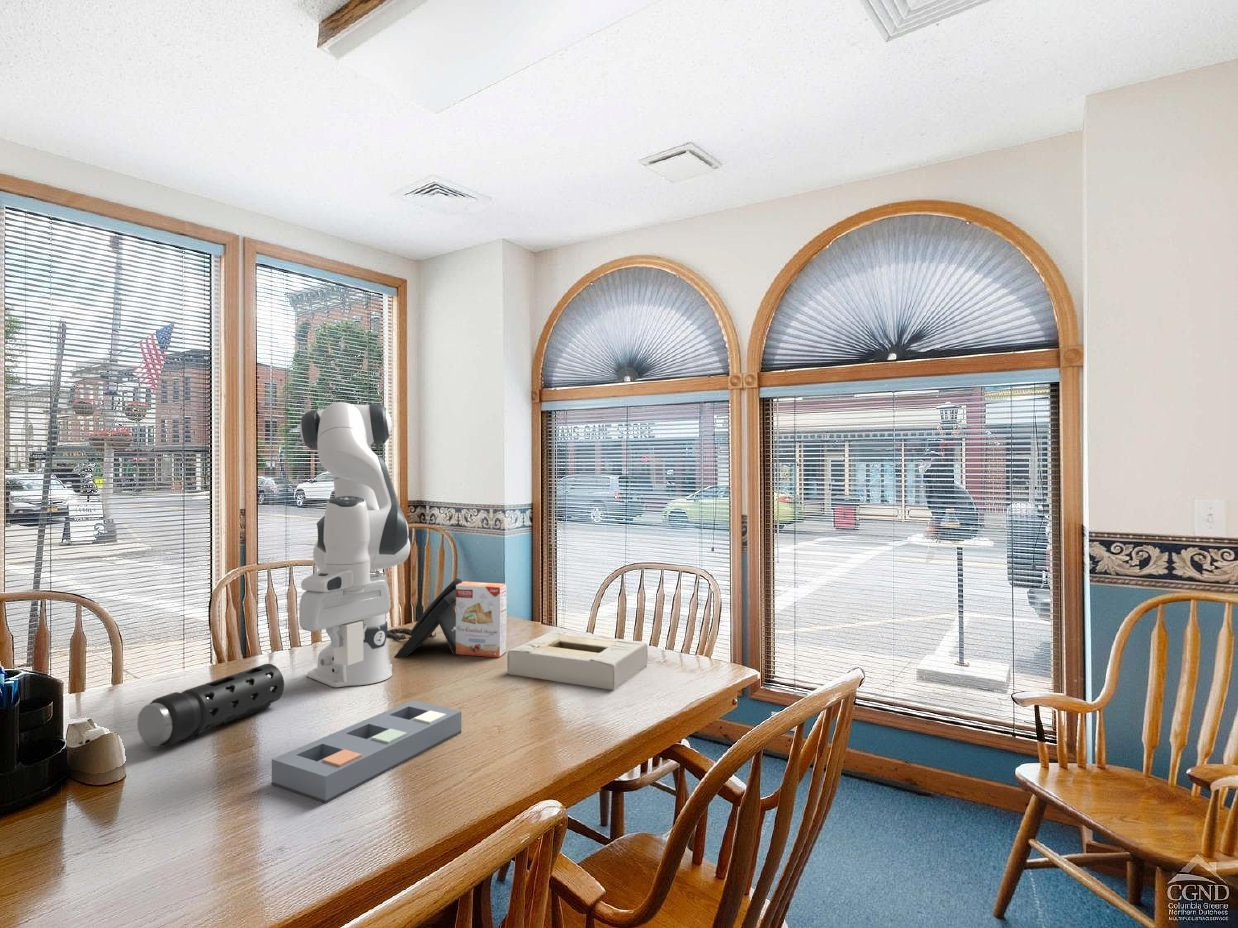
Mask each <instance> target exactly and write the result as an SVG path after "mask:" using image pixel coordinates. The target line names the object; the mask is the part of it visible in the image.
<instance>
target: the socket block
mask: <svg viewBox="0 0 1238 928" xmlns="http://www.w3.org/2000/svg"><path fill="white" fill-rule="evenodd" d="M461 733H462V710H457V709H453V708H449V707H445V706H440V705H436V704H431V703H427V702H422V701H418V700H413V699H411V700H409V701H407V702H404V703H402V704H400V705H397V706H395V707H393V708H390V709H387V710H385V711H383V712H381V713H379V714H376V715H374V716H371V717H369V718H366V719H364V720H363V721H360V722H357V723H354V724H353V725H350V726H347V727H345V728H343V729H340V730H338V731H336V732H333V733H331V734H329V735H326V736H324V737H321V738H319V739H317V740H314V741H312V742H310V743H308V744H304V745H302V746H299V747H298V748H295V749H293V750H291V751H288V752H286V753H283V754H281V755H279V756H276V757H273V758H272V759H271V785H272V786H275V787H277V788H280V789H283V790H287V791H289V792H292V793H295V794H298V795H301V796H304V797H306V798H309V799H312V800H316V801H318V802H320V803H324V804H327V803H329V802H331V801H333V800H335V799H337V798H339V797H340V796H342V795H344V794H346V793H349V792H351V791H352V790H354V789H356V788H358V787H360V786H362V785H364V784H366V783H368V782H370V781H371V780H373V779H375V778H377V777H379V776H381V775H383V774H385V773H386V772H389V771H390V770H392V769H395V768H396V767H398V766H400V765H402V764H404V763H406V762H407V761H411V759H413V758H416V757H418V756H419V755H421V754H423V753H425V752H426V751H428V750H429V751H430V749H433V748H434V747H436V746H438V745H440V744H442V743H444V742H446V741H448V740H450V739H451V738H453V737H456V736H457V735H460V734H461Z"/></svg>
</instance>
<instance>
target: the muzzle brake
mask: <svg viewBox="0 0 1238 928" xmlns="http://www.w3.org/2000/svg"><path fill="white" fill-rule="evenodd" d="M269 676H270V677H269ZM271 688H272V689H271ZM284 690H285V681H284V677H283V674H282V672H281V671H280V669H279V668H278V666H276V665H275V664H272V663H264V664H260V665H258V666H256V667H253V668H252V667H251V668H249V669H246V670H243V671H239V672H236V673H234V674H231V675H228V676H225V677H222V678H218V679H216V680H212V681H209V682H207V683H204V684H201V685H198V686H193V687H191V688H188V689H185V690H183V691H182V692H178V691H177V692H171V693H169V694H165V695H162V696H160V697H156V698H155V699H153V700H152V701H151V702H149V704H147V705H145V706H143V707H142V708H141V710H140V711H139V713H138V718H137V729H138V733H139V736H140V737H141V740H142V741H143V742H144V743H145V744H146V745H148V746H149V747H152V748H153V747H154V748H155V747H158V746H159V747H160V746H164V747H168V746H170V745H173V744H175V743H177V742H182V743H185V742H187V741H190V740H192V739H194V738H197V737H199V736H200V734H201V732H202V731H205V730H207V729H210V728H213V727H215V726H218V725H227V724H228V723H230V722H231V721H237V720H239V719H242V718H244V717H247V716H249V715H252V714H254V713H257V712H259V711H262V710H264V709H267V708H269V707H271V704H272V703H276V702H277V701H279V700H280V698H281V697H282V695H283V693H284ZM231 704H232V705H231Z"/></svg>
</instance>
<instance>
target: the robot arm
mask: <svg viewBox="0 0 1238 928" xmlns="http://www.w3.org/2000/svg"><path fill="white" fill-rule="evenodd" d="M300 420H301V421H300V423H299V434H300V438H301V439H302V441H303V443H304V445H305V446H306V447H307V448H308V449H310V450H313V451H317V455H318V460H319V463H320V465H321V466H322V467H323V468H324V469H325V471H326V472H328V473H330V474H331V475H332V477H333V478H332V479H333V487H334V497H332V498H329V500H327V502H326V505H325V511H324V515H323V516H322V517H321V518H320V519H319V520H318V521H317V522H316V527H317V542H316V543H315V545H314V546H313V547H314V548H313V552H312V556H313V557H312V558H313V562H314V564H315V566H316V568H317V569H318V570H317V572H314V573H313V574H311V575H309V576H307V577H305V578H303V579H302V581H301V583H300V587H301V589H302V591H304V592H303V593H302V594H301V597H300V599H299V610H298V611H299V612H298V621H299V623H298V624H299V626H300V628H301V629H302V630H303V631H307V632H318V631H321V630H324V629H325V632H326V634H327V635H328V637H329V638H330V643H329V644H328V645H327V646H326V647H324V648H323V649H322V650H321V651H320V652H319V653H318V657H317V665H316V666H317V667H315V668H312V669H310V670H309V671H308V672H307V677H308V678H310V679H313V680H316V681H318V682H320V683H323V684H325V685H328V686H330V687H332V688H341V687H343V688H344V687H351V686H352V687H353V686H364V685H372V684H375V683H379V682H382V681H385V680H387V679H389V678H391V677H392V676H393V671H392V670H393V664H392V663H391V658H390V650H389V641H388V639H387V635H388V631H389V626H388V621H387V619H386V618H387V614H388V613H389V612H390V609H391V595H390V594H391V593H390V587H389V585H388V575H387V574H386V573H385V572H383V571H382V570H383V569H390V568H393V567H396V566H398V565H401V564H403V563H405V562H406V561H407V560H408V558H409V555H410V552H411V541H410V538H409V535H410V534H409V531H410V530H409V525H408V522H407V521H408V520H407V519H406V517H405V515H404V512H403V510H402V508H401V506H400V502H399V499H398V496H397V494H396V490H395V487H394V484H393V481H392V478H391V476H390V471H389V470H388V467H387V465H386V462H385V461H384V459H383V457H382V456H380V455H379V454H376V453H375V452H374V451H373V450H372V446H373V445H375V448H376V450H377V451H378V450H380V446H381V445H383V444H385V443H386V442H387V440H389V438H390V435H391V432H392V427H393V422H392V417H391V416H390V413H389V412H388V410H387V408H386V407H385V406H384V405H383V404H379V403H369V404H351V403H349V402H344V401H343V402H342V401H337V402H333V403H331V404H329V405H328V406H326V407H325V408H323V409H317V408H316V409H312V410H310V411H307V412H305V413H304V414H303V416H302V417H301V419H300ZM354 621H363V656H364V660H363V661H360V662H357V663H354V664H351V665H348V666H347V665H342V664H336V663H334V648H338V647H342V646H343V638H339V636H338V634H337V632H336V631H338V630H339V625H342V624H346V623H350V622H354Z"/></svg>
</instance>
